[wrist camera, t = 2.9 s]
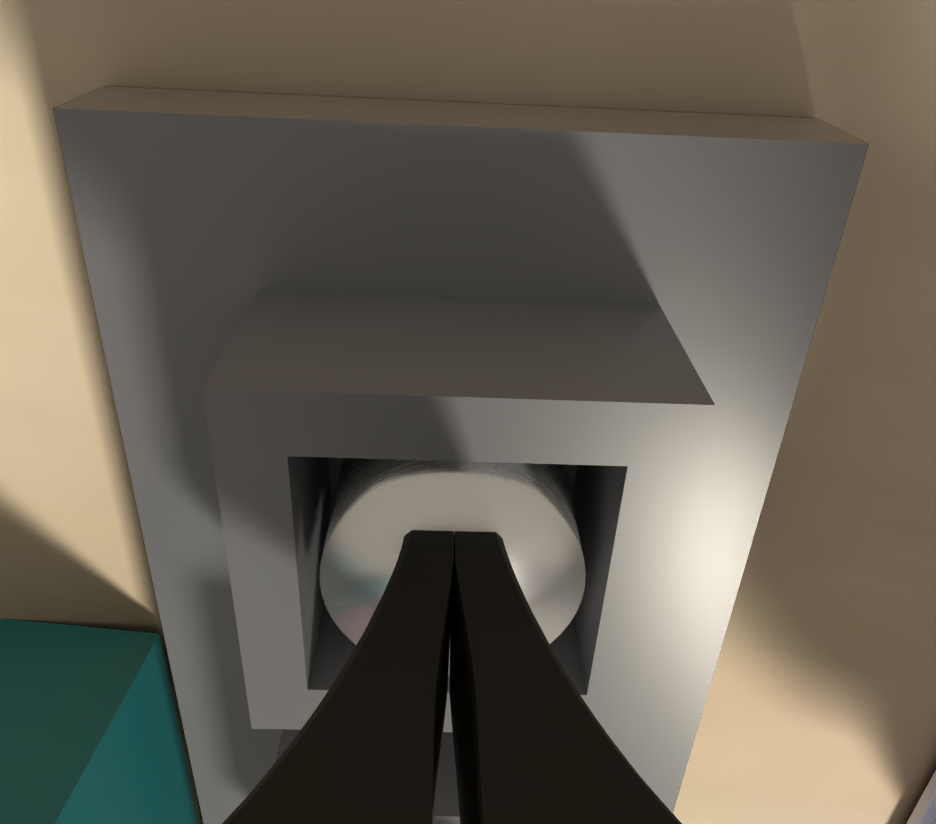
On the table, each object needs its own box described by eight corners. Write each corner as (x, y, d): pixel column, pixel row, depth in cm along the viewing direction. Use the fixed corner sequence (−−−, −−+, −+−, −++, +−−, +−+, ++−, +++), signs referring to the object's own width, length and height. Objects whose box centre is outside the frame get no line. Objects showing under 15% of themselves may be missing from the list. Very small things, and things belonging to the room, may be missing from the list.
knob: (574, 377, 14) (602, 480, 11) (551, 556, 16) (570, 679, 13) (339, 369, 13) (311, 471, 11) (347, 551, 16) (325, 673, 13)
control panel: (816, 118, 14) (998, 208, 9) (595, 982, 29) (621, 1177, 24) (104, 86, 13) (-80, 163, 9) (262, 979, 29) (226, 1177, 24)
